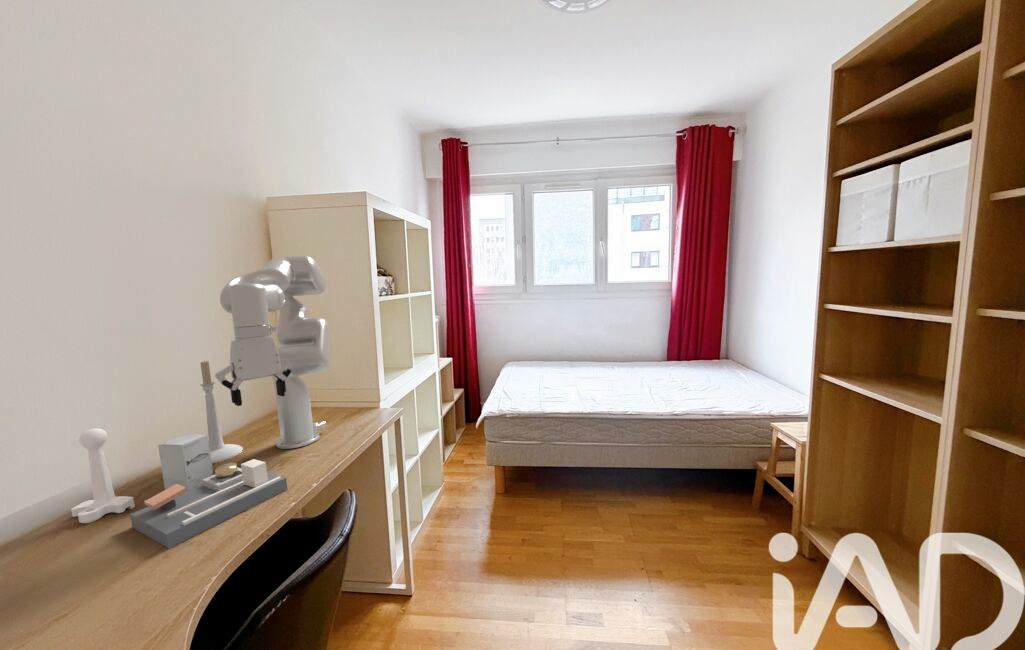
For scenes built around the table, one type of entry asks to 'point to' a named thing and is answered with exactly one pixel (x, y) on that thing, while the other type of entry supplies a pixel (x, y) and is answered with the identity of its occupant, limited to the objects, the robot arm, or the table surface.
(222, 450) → the candlestick
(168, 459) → the supplement box
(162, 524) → the control panel
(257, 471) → the white slider block
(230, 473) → the push button
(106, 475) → the joystick
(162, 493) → the rocker switch
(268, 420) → the table surface
